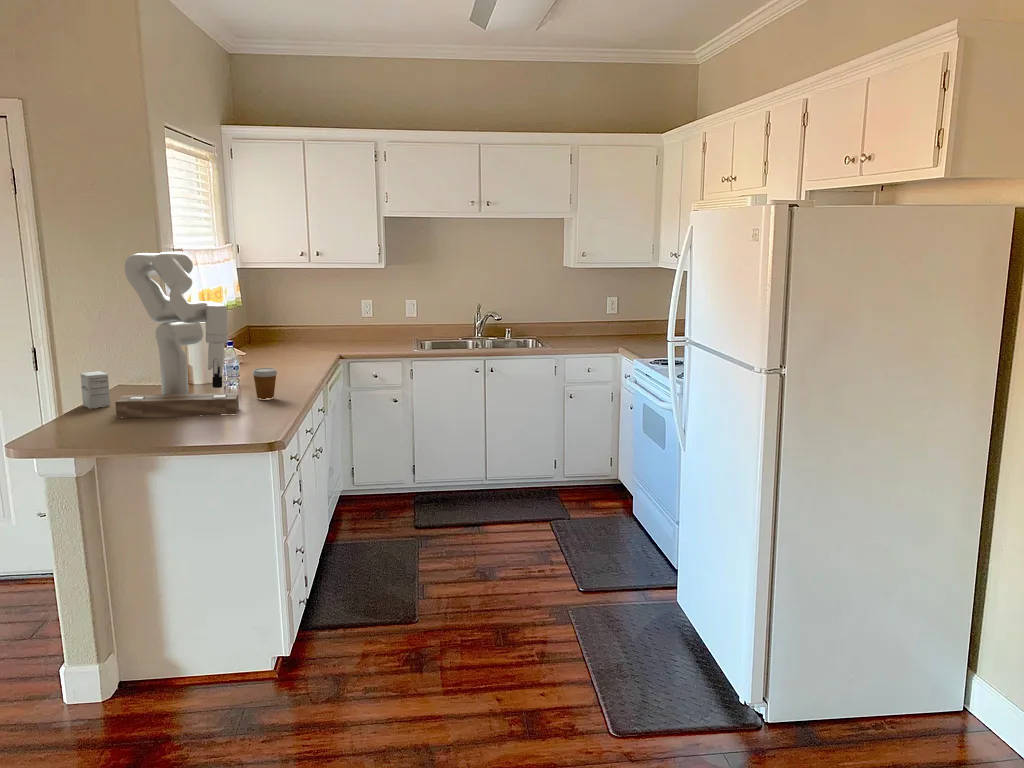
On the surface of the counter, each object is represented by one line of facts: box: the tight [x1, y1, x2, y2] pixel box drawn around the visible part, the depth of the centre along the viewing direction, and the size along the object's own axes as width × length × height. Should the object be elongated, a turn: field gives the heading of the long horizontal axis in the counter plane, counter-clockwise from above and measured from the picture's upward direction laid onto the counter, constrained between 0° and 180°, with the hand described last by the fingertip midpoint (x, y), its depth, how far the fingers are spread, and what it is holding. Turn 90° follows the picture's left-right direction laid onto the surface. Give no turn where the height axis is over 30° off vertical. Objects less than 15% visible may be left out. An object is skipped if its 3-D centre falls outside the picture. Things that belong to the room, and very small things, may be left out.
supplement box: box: [80, 370, 111, 410], centre depth 284 cm, size 7×7×13 cm
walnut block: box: [115, 392, 240, 419], centre depth 278 cm, size 11×40×6 cm, turn 105°
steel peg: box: [129, 397, 145, 400], centre depth 274 cm, size 4×4×6 cm
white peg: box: [213, 395, 226, 398], centre depth 281 cm, size 4×4×6 cm
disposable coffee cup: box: [252, 367, 278, 399], centre depth 305 cm, size 10×10×12 cm
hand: (217, 387), depth 280 cm, fingers closed
